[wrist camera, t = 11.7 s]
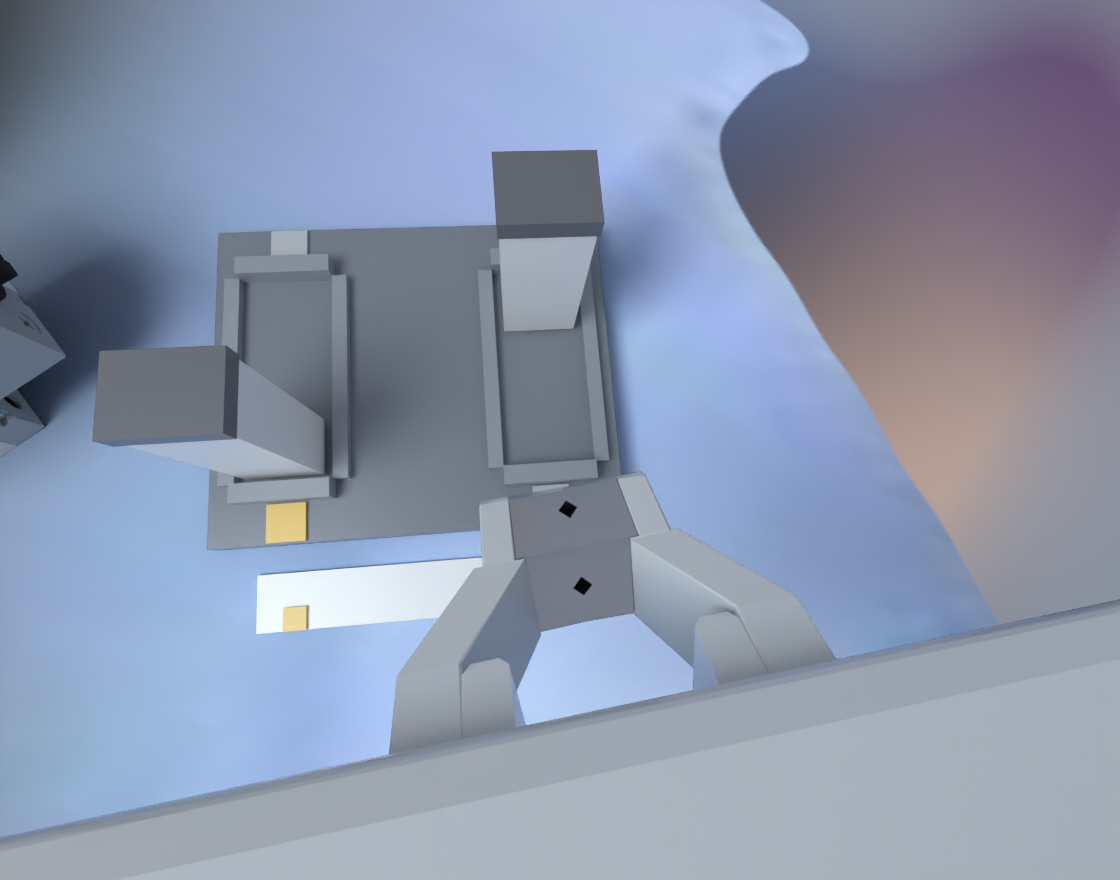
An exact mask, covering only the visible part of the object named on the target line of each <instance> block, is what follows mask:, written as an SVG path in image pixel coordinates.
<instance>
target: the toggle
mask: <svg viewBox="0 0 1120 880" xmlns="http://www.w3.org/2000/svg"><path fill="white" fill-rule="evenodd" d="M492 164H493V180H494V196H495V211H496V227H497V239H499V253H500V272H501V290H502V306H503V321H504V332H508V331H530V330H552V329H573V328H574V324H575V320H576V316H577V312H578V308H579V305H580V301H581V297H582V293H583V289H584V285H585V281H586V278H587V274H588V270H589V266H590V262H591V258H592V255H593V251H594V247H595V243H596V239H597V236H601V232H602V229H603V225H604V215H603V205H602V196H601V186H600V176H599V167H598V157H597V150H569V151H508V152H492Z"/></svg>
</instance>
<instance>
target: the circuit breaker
mask: <svg viewBox="0 0 1120 880" xmlns="http://www.w3.org/2000/svg"><path fill="white" fill-rule="evenodd" d="M16 276H18V275H17V273H16V271H15V270H14V269H13V267H12V266H11V265H10V263H9V262H7V261H5V260H4V259H3V257H2V256H1V255H0V457H1V456H3V455H4V454H6V453H7V452H9V451H10V450H12V449H13V448H15V447H16V446H18V445H19V444H21V443H22V442H24V441H25V440H27V439H28V438H30V437H31V436H33V435H34V434H36V433H37V432H39V431H40V430H42V429H43V428H44V425H43V423H42V422H41V421H40V419H39V418H38V417H37V415H36V414H35V412H34V411H33V410H32V408H31V407H30V406H29V404H28V403H27V402H26V400H25V399H24V397H23V396H22V395H21V393H20V392H19V391H18V388H19V387H21V386H22V385H24V384H26V383H27V382H29V381H30V380H32V379H33V378H35V377H36V376H38V375H39V374H41V373H42V372H44V371H46V370H47V369H49V368H50V367H52V366H53V365H55V364H56V363H58V362H59V361H61V360H62V359H64V358H66V355H65V353H64V352H63V351H62V349H61V348H60V347H59V345H58V344H57V343H56V341H55V340H54V339H53V337H52V336H51V335H50V333H49V332H48V331H47V329H46V328H45V327H44V325H43V324H42V323H41V321H40V320H39V319H38V317H37V316H36V315H35V313H34V312H33V311H32V309H31V308H30V307H29V306H26V305H25V304H24V303H23V302H22V300H23V297H22V296H21V295H20V293H19V292H18V291H17V289H16V288H15V287H14V285H13V284H12V283H11V281H10V280H11V279H13V278H15V277H16Z"/></svg>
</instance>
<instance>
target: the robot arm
mask: <svg viewBox="0 0 1120 880" xmlns="http://www.w3.org/2000/svg"><path fill="white" fill-rule="evenodd" d="M479 512H480V531H481V550H482V567H478V568H474V569H473V571H472V572H471V573H470V575H469V576H468V578H467V579H466V580H465V582H464V583H463V585H462V586H461V587H460V589H459V590H458V592H457V593H456V594H455V596H454V597H453V599H452V600H451V601H450V603H449V604H448V606H447V607H446V608H445V610H444V611H443V613H442V614H441V615H440V617H439V618H438V620H437V621H436V622H435V624H434V625H433V627H432V628H431V629H430V631H429V632H428V634H427V635H426V636H425V638H424V639H423V641H422V642H421V643H420V645H419V646H418V647H417V649H416V650H415V652H414V653H413V654H412V656H411V657H410V659H409V660H408V661H407V663H406V664H405V666H404V667H403V668H402V670H401V671H400V673H399V674H398V675H397V680H396V690H395V700H394V710H393V720H392V730H391V739H390V749H389V755H385V756H380V757H376V758H371V759H366V760H361V761H357V762H352V763H347V764H343V765H338V766H333V767H329V768H324V769H319V770H314V771H310V772H305V773H300V774H296V775H291V776H286V777H281V778H277V779H272V780H267V781H263V782H258V783H253V784H249V785H244V786H239V787H234V788H230V789H225V790H220V791H216V792H211V793H206V794H201V795H197V796H192V797H187V798H183V799H178V800H173V801H169V802H164V803H159V804H154V805H150V806H145V807H140V808H136V809H131V810H126V811H122V812H117V813H112V814H107V815H103V816H98V817H93V818H89V819H84V820H79V821H74V822H70V823H65V824H60V825H56V826H51V827H46V828H42V829H37V830H32V831H27V832H23V833H18V834H13V835H9V836H4V837H0V880H1120V600H1115V601H1110V602H1105V603H1101V604H1097V605H1092V606H1087V607H1082V608H1077V609H1072V610H1068V611H1063V612H1058V613H1054V614H1049V615H1044V616H1040V617H1035V618H1030V619H1026V620H1021V621H1016V622H1011V623H1007V624H1002V625H997V626H992V627H988V628H983V629H978V630H973V631H969V632H964V633H959V634H954V635H950V636H945V637H940V638H936V639H931V640H926V641H921V642H917V643H912V644H907V645H903V646H898V647H893V648H888V649H884V650H879V651H874V652H870V653H865V654H860V655H855V656H851V657H846V658H841V659H836V658H835V656H834V655H833V653H832V652H831V650H830V648H829V647H828V645H827V644H826V642H825V641H824V639H823V637H822V636H821V634H820V633H819V631H818V630H817V628H816V626H815V625H814V623H813V622H812V620H811V619H810V617H809V615H808V614H807V612H806V611H805V609H804V607H803V606H802V604H801V603H800V601H799V600H798V598H797V596H796V595H794V594H792V593H790V592H789V591H787V590H785V589H783V588H782V587H780V586H778V585H776V584H775V583H773V582H771V581H769V580H768V579H766V578H764V577H763V576H761V575H759V574H757V573H756V572H754V571H752V570H750V569H749V568H747V567H745V566H743V565H742V564H740V563H738V562H736V561H735V560H733V559H731V558H729V557H728V556H726V555H724V554H722V553H721V552H719V551H717V550H715V549H714V548H712V547H710V546H709V545H707V544H705V543H703V542H702V541H700V540H698V539H696V538H695V537H693V536H691V535H689V534H688V533H686V532H684V531H682V530H681V529H674V530H671V529H670V527H669V525H668V523H667V520H666V518H665V516H664V514H663V512H662V510H661V507H660V505H659V503H658V501H657V499H656V497H655V495H654V492H653V490H652V488H651V486H650V484H649V482H648V480H647V477H646V475H645V474H644V473H643V472H642V471H639V472H634V473H630V474H625V475H620V476H615V478H609V479H604V480H599V481H593V482H588V483H583V484H578V485H573V486H567V487H561V488H555V489H549V490H543V491H537V492H531V493H525V494H519V495H512V496H509V498H508V497H503V498H497V499H491V500H485V501H481V502H480V506H479ZM631 613H635V616H637V617H638V618H639V619H640V620H641V621H642V622H643V623H644V624H645V625H647V626H648V627H649V628H650V629H651V630H652V631H653V632H654V633H655V634H656V635H658V636H659V637H660V638H661V639H662V640H663V641H664V642H665V643H666V644H668V645H669V646H670V647H671V648H672V649H673V650H674V651H675V652H676V653H677V654H679V655H680V656H681V657H682V658H683V659H684V660H685V661H686V662H687V663H689V664H690V665H691V666H692V667H693V668H694V671H693V690H692V691H687V692H682V693H677V694H673V695H668V696H663V697H658V698H654V699H649V700H644V701H640V702H635V703H630V704H625V705H621V706H616V707H611V708H607V709H602V710H597V711H592V712H588V713H583V714H578V715H573V716H569V717H564V718H559V719H555V720H550V721H545V722H540V723H536V724H531V725H526V724H525V721H524V717H523V713H522V710H521V706H520V702H519V699H518V695H517V689H518V687H519V684H520V682H521V680H522V677H523V675H524V673H525V670H526V668H527V666H528V664H529V661H530V659H531V657H532V654H533V652H534V650H535V647H536V645H537V643H538V641H539V638H540V636H541V633H540V632H543V631H547V630H551V629H556V628H560V627H564V626H568V625H573V624H577V623H581V622H586V621H591V620H597V619H603V618H608V617H614V616H620V615H626V614H631Z"/></svg>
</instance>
